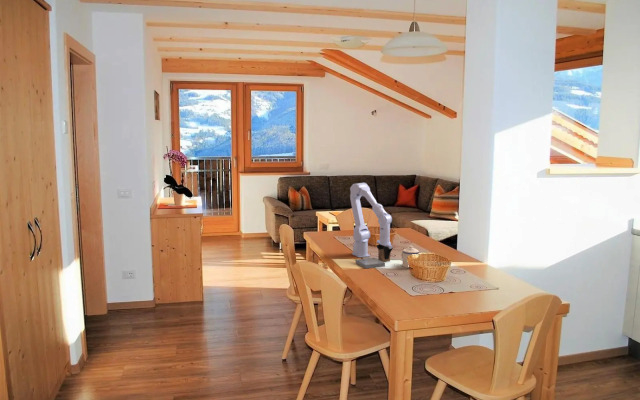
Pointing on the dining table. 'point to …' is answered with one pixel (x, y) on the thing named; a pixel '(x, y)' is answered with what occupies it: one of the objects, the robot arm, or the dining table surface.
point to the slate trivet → (370, 263)
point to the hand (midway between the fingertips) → (384, 258)
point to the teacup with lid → (406, 253)
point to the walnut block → (382, 256)
